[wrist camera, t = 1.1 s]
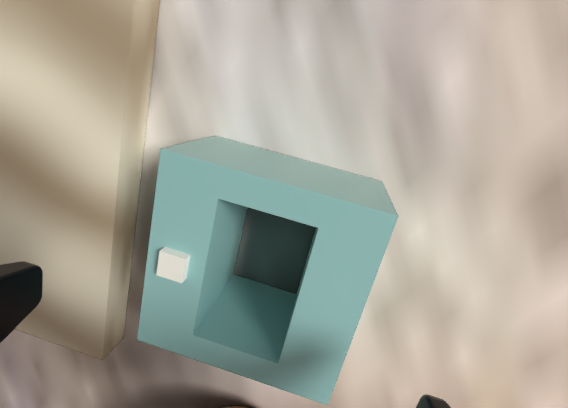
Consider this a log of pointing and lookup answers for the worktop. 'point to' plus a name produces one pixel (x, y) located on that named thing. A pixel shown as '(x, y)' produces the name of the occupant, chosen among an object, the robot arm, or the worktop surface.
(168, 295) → the teal open cube
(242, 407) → the vase
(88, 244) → the board
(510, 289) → the worktop surface
